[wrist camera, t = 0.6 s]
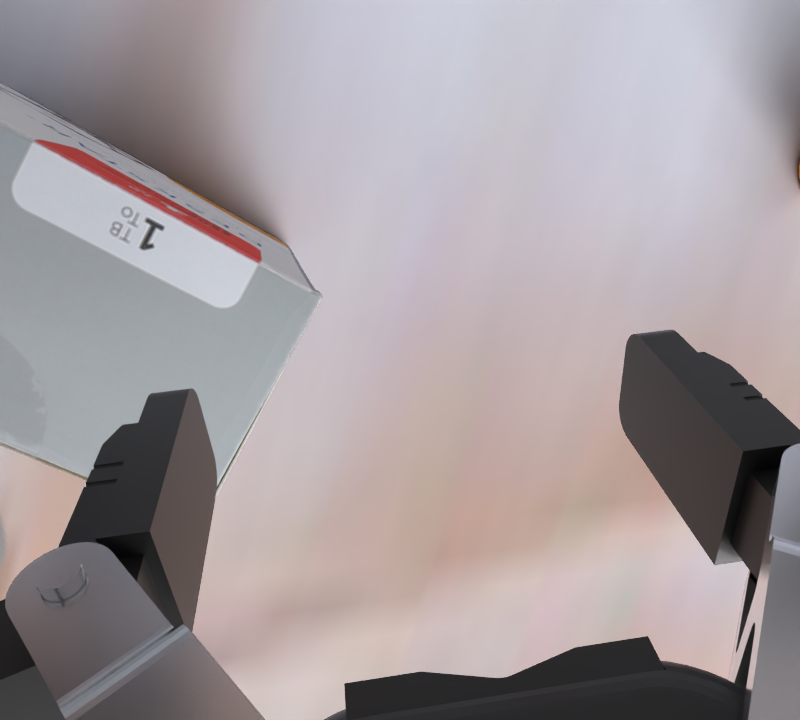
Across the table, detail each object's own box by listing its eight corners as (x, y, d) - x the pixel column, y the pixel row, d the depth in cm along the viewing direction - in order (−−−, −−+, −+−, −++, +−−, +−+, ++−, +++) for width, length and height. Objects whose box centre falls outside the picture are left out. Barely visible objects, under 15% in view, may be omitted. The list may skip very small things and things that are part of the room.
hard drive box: (294, 244, 36) (338, 302, 18) (228, 363, 37) (202, 543, 18) (5, 80, 32) (-360, -81, 13) (-62, 221, 33) (-499, 265, 14)
